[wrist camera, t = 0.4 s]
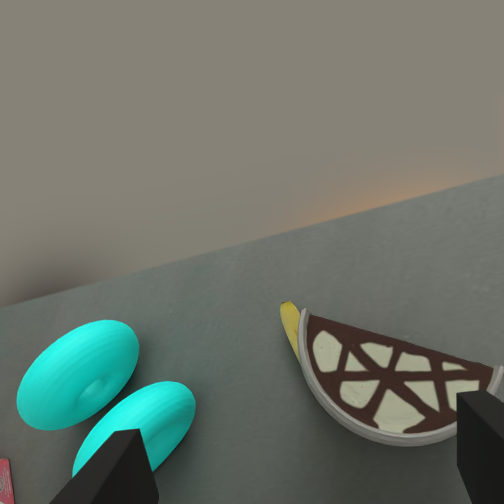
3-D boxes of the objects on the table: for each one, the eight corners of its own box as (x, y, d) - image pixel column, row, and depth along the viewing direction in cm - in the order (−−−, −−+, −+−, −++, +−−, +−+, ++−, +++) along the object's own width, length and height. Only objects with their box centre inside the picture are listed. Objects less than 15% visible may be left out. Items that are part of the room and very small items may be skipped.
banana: (339, 394, 36) (336, 392, 32) (319, 404, 36) (314, 403, 33) (294, 302, 39) (287, 291, 36) (276, 311, 39) (267, 301, 36)
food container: (291, 405, 37) (265, 403, 28) (314, 331, 38) (296, 305, 29) (456, 465, 33) (490, 486, 24) (474, 380, 34) (513, 368, 25)
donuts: (142, 324, 42) (79, 299, 33) (218, 402, 38) (171, 399, 29) (65, 410, 41) (-22, 410, 32) (136, 499, 37) (60, 528, 28)
